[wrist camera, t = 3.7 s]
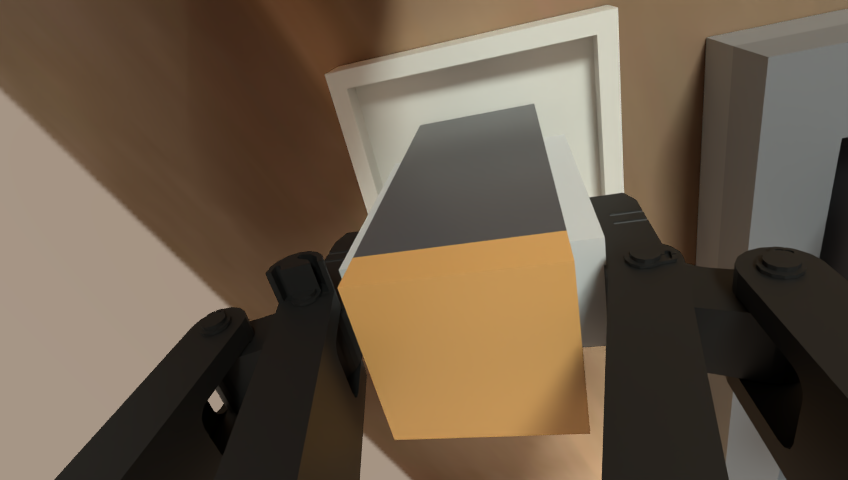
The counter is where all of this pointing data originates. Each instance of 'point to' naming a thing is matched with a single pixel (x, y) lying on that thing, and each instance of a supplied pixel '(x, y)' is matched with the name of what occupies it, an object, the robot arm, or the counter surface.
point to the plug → (471, 287)
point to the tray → (491, 93)
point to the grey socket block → (768, 168)
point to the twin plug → (838, 218)
